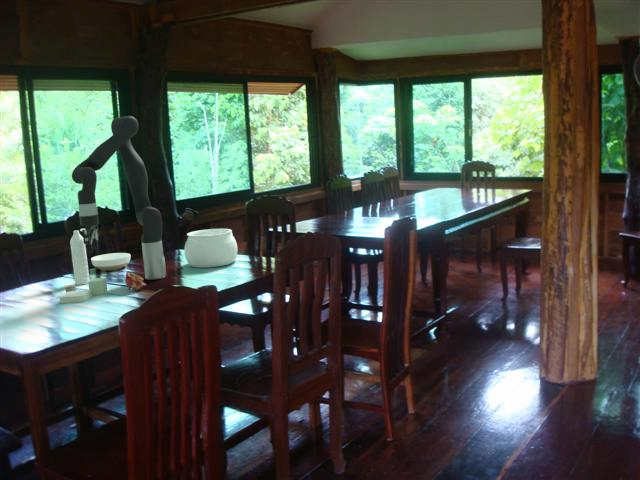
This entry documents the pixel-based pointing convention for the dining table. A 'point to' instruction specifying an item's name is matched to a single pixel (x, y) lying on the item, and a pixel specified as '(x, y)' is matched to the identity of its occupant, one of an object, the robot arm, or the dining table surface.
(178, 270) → the dining table surface
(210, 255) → the pot
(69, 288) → the grey block
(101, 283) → the green cube
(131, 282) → the flower
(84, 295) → the trivet
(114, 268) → the bowl
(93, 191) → the robot arm
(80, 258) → the white bottle
